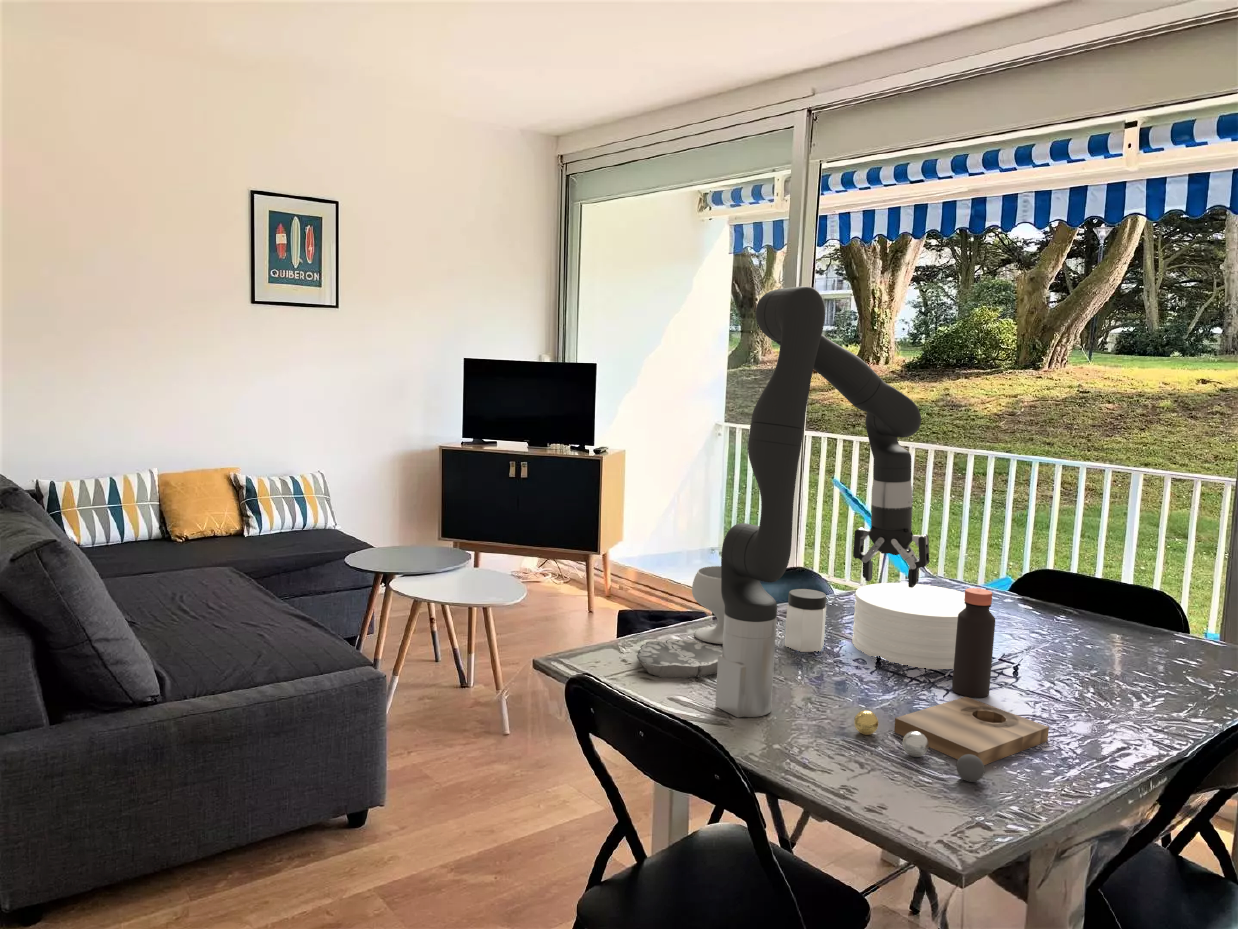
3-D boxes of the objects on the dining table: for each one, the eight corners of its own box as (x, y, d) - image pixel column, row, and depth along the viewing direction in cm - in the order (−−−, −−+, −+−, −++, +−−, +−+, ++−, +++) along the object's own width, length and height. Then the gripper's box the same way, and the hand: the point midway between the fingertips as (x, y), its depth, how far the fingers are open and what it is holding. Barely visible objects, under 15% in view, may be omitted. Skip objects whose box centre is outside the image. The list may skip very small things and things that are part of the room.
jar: (832, 649, 202) (835, 595, 201) (808, 655, 197) (811, 600, 196) (800, 638, 209) (803, 586, 208) (776, 644, 204) (779, 591, 203)
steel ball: (917, 763, 146) (918, 739, 145) (896, 754, 149) (898, 730, 149) (932, 758, 148) (934, 734, 148) (912, 748, 151) (913, 725, 151)
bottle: (991, 690, 180) (1000, 590, 178) (985, 701, 174) (994, 597, 172) (955, 683, 183) (963, 585, 181) (948, 693, 178) (956, 592, 175)
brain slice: (702, 649, 200) (703, 636, 199) (742, 675, 184) (742, 661, 184) (618, 657, 192) (619, 644, 192) (652, 686, 177) (653, 671, 176)
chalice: (703, 649, 199) (706, 581, 197) (680, 629, 212) (683, 565, 211) (762, 645, 203) (766, 578, 201) (737, 626, 216) (740, 564, 215)
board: (977, 768, 145) (978, 752, 145) (894, 732, 158) (895, 718, 158) (1047, 741, 157) (1048, 727, 156) (964, 709, 170) (965, 696, 169)
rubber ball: (973, 789, 138) (975, 763, 137) (949, 778, 141) (951, 753, 141) (988, 782, 140) (991, 757, 140) (965, 772, 143) (967, 747, 143)
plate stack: (852, 661, 195) (856, 608, 194) (851, 625, 222) (855, 578, 221) (993, 677, 189) (998, 622, 187) (975, 637, 216) (979, 589, 214)
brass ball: (867, 740, 154) (868, 717, 154) (848, 732, 157) (849, 709, 157) (882, 735, 156) (884, 713, 156) (864, 727, 160) (865, 705, 159)
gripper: (848, 502, 179) (848, 583, 182) (923, 509, 171) (921, 594, 174) (862, 495, 185) (861, 573, 188) (934, 502, 177) (932, 583, 180)
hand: (890, 583), depth 181 cm, fingers open, 8 cm apart
